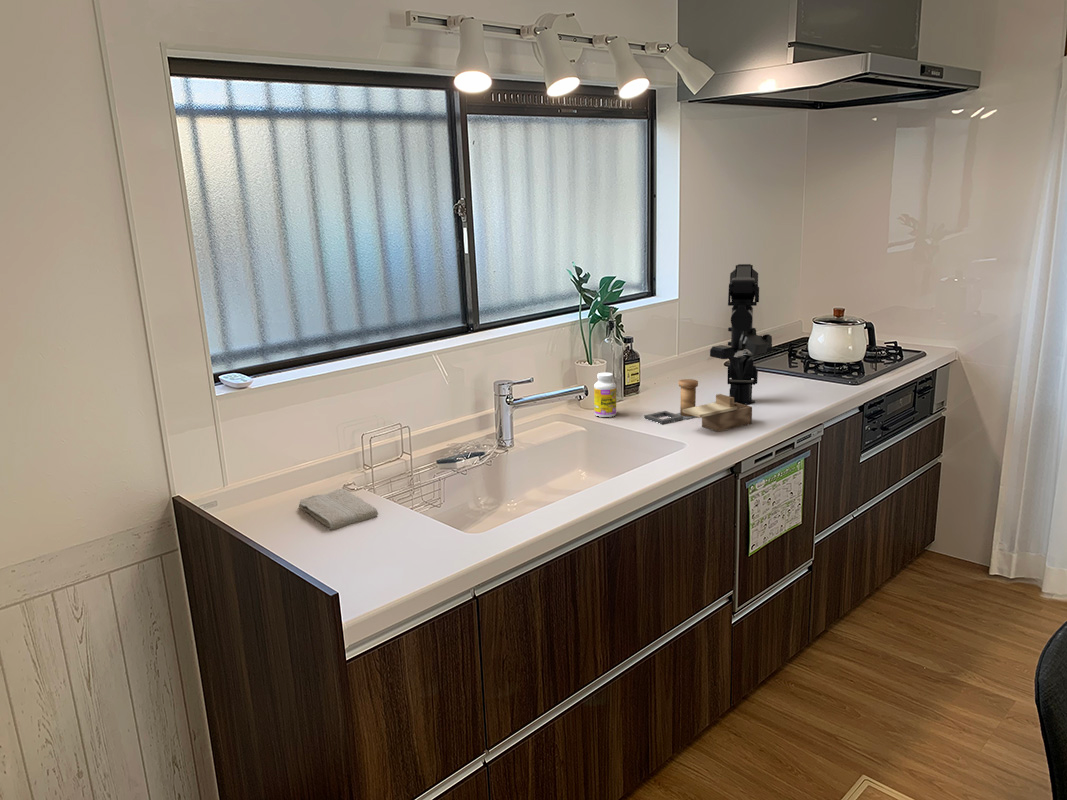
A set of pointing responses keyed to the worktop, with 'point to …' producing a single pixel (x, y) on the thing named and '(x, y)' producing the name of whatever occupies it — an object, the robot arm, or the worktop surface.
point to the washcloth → (337, 509)
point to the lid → (713, 407)
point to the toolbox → (729, 418)
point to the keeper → (664, 413)
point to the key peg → (687, 394)
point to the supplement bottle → (605, 395)
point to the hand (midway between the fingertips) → (740, 378)
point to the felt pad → (686, 417)
